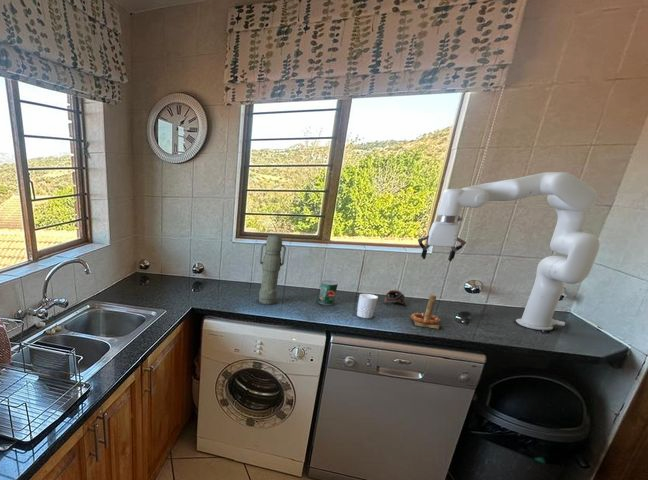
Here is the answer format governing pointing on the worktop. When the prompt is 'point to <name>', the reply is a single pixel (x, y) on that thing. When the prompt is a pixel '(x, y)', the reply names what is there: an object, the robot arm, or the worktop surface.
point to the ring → (415, 317)
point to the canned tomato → (327, 292)
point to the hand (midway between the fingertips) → (436, 259)
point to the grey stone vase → (271, 268)
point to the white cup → (366, 305)
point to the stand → (428, 313)
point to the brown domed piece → (394, 297)
